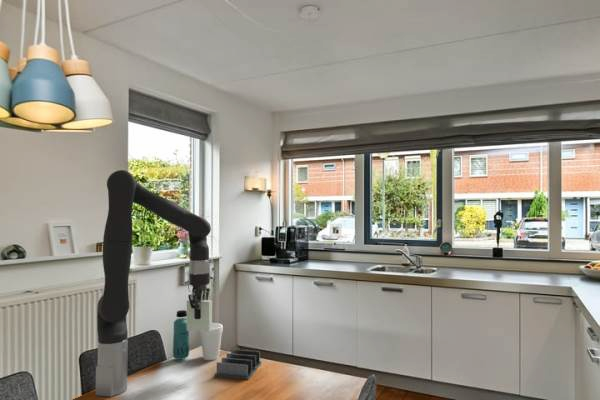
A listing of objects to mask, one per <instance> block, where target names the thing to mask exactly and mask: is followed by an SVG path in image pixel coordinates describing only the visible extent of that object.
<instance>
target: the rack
mask: <svg viewBox="0 0 600 400" xmlns="http://www.w3.org/2000/svg"><path fill="white" fill-rule="evenodd" d="M261 364H262V360H261V351H260V350H249V349H248V350H247V349H235V348H232V349H230V353H228V352H227V353H226V357H221V362H218V361H217V362H216V372H215V373H214V378H222V379H223V378H224V379H225V378H226V379H237V380H245V381H248V380H249V379H251V377H252V376H253V374H254V373H255V372H256V371H257V370H258V368H259V367H260V366H261Z"/></svg>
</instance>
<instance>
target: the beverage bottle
mask: <svg viewBox="0 0 600 400" xmlns="http://www.w3.org/2000/svg"><path fill="white" fill-rule="evenodd" d="M172 342H173V344H172V356H173V357H172V358H174V359H175V360H176V359H178V360H182V359H186V358H188V357H189V356H190V355H189V354H190V330H187V310H185V309H182V310H177V311H176V319H175V320H174V321H173V340H172Z"/></svg>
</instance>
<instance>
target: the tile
mask: <svg viewBox="0 0 600 400" xmlns="http://www.w3.org/2000/svg"><path fill="white" fill-rule="evenodd" d="M200 309H201V318H200V319H195V318H194V309H193V308H191V305H190V302H189V299H188V300H186V311H187V316H186V319H187V330H189V332H190V331H193V332H194V331H195V332H200V331H205V332H210V331H211V330H212V323H213V300H212V299H208V300H202V302H201V308H200Z"/></svg>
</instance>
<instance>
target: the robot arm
mask: <svg viewBox="0 0 600 400" xmlns="http://www.w3.org/2000/svg"><path fill="white" fill-rule="evenodd" d="M106 187H107V192H108V193H107V194H108V195H107V196H108V197H107V198H108V210H107V211H108V213H107V218H106V222H105V227H104V230H103V231H104V232H103V236H102V237H103V241H102V266H103V274H104V288H103V295H102V296H101V297H100V298H99V299H98V302H97V306H96V307H97V309H96V310H97V311H96V318H97V319H96V320H97V323H96V324H97V326H96V327H97V366H95V396H102V397H108V398H109V397H110V398H111V397H113V396H116V395H119V394H122V393H124V392H125V391H126V390H127V389H128V343H129V341H128V340H129V339H128V335H129V334H128V333H129V332H128V326H127V315H128V313H129V311H130V296H129V293H130V292H129V278H130V277H129V276H130V269H131V262H132V261H131V260H132V251H133V233H134V232H133V230H134V229H133V205H134V204H137V205H139V206H140V207H142V208H144V209H146V210H148V211H149V212H151V213H153V214H154V215H156V216H157V217H159V218H161V219H163V220H165V221H166V222H168V223H170V224H172V225H174V226H175V227H178V228H181V229H183V230H184V231H186V232H187V233H188V239H189V264H188V265H189V267H188V271H189V272H188V273H189V274H188V277H189V278H188V279H189V280H188V284H189V285H190V286H192V289H191V292H192V293H191V294H188V300H189V302H190V305H191V308H193V309H194V318H195V319H200V318H201V309H200V308H201V302H202V300H209V298H210V297H209V295H210V290H211V289H210V288H209V287H207V285H210V282H211V281H210V280H211V279H210V278H211V273H210V272H211V271H210V269H211V268H210V267H211V266H210V248H209V245H208V242H207V238H208V235H210V233H211V230H212V229H211V224H210V222H209V220H207V219H205V218H204V217H201V216H199V215H197V214H195V213H192V212H191V211H188V209H186V208H184V207H182V206H180V205H179V204H177V203H176V202H173V200H170V199H167V198H166V197H163V196H161V195H159V194H156V193H155V192H152V191H150V190H149V189H148V188H146V187H144V186H143V185H141V183H139V182H137V181H136V178H135V176H134V175H133V174H132V173H131V172H130V171H128V170H124V169H121V170H120V169H119V170H116V171H114V172H113V173H110V175H109V176H108V178H107V180H106ZM133 203H134V204H133Z"/></svg>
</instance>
